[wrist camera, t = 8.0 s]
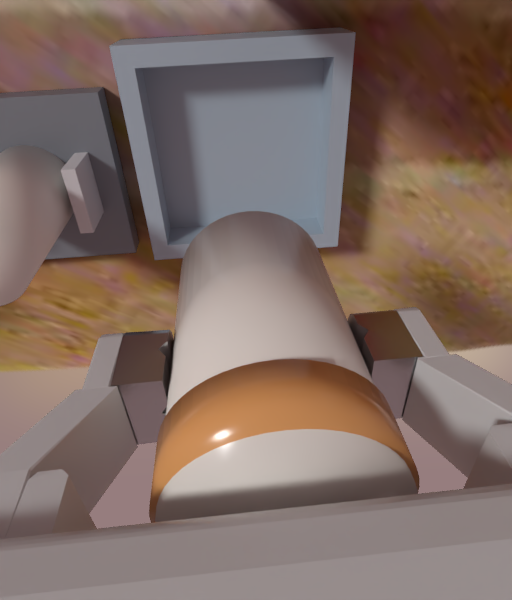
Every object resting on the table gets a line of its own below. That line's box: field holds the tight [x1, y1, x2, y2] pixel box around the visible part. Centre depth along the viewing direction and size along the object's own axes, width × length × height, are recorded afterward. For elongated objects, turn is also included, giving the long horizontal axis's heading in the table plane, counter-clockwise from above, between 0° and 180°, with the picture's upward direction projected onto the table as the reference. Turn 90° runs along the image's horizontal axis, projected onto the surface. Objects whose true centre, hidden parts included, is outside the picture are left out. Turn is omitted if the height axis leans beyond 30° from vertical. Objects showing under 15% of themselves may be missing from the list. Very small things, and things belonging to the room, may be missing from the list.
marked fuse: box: [149, 211, 419, 523], centre depth 9 cm, size 4×4×7 cm
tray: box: [109, 27, 356, 260], centre depth 20 cm, size 10×10×2 cm
